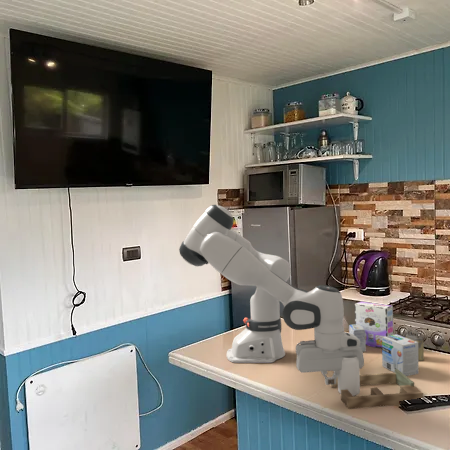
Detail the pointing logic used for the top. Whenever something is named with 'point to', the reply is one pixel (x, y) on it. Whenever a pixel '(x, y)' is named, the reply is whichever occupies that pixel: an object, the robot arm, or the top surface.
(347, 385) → the can
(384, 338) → the light bulb box
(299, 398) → the top surface
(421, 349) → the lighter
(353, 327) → the medicine box
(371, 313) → the candy box
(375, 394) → the trap box
